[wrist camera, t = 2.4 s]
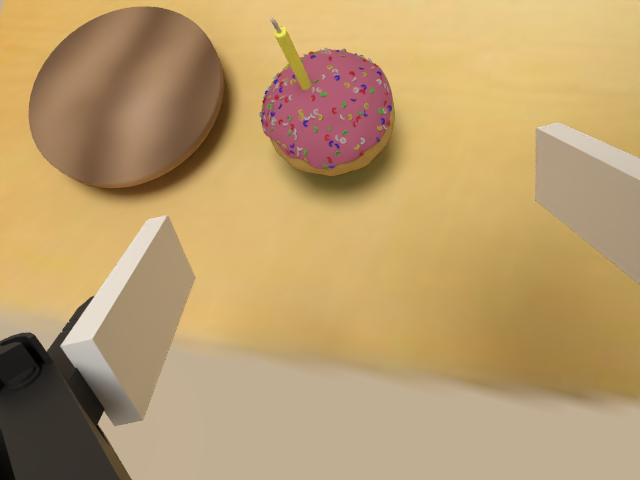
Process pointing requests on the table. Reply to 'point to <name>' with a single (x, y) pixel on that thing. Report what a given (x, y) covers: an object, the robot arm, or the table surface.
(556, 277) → the table surface
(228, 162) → the table surface
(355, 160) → the cupcake
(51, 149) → the brown plate
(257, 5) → the table surface
